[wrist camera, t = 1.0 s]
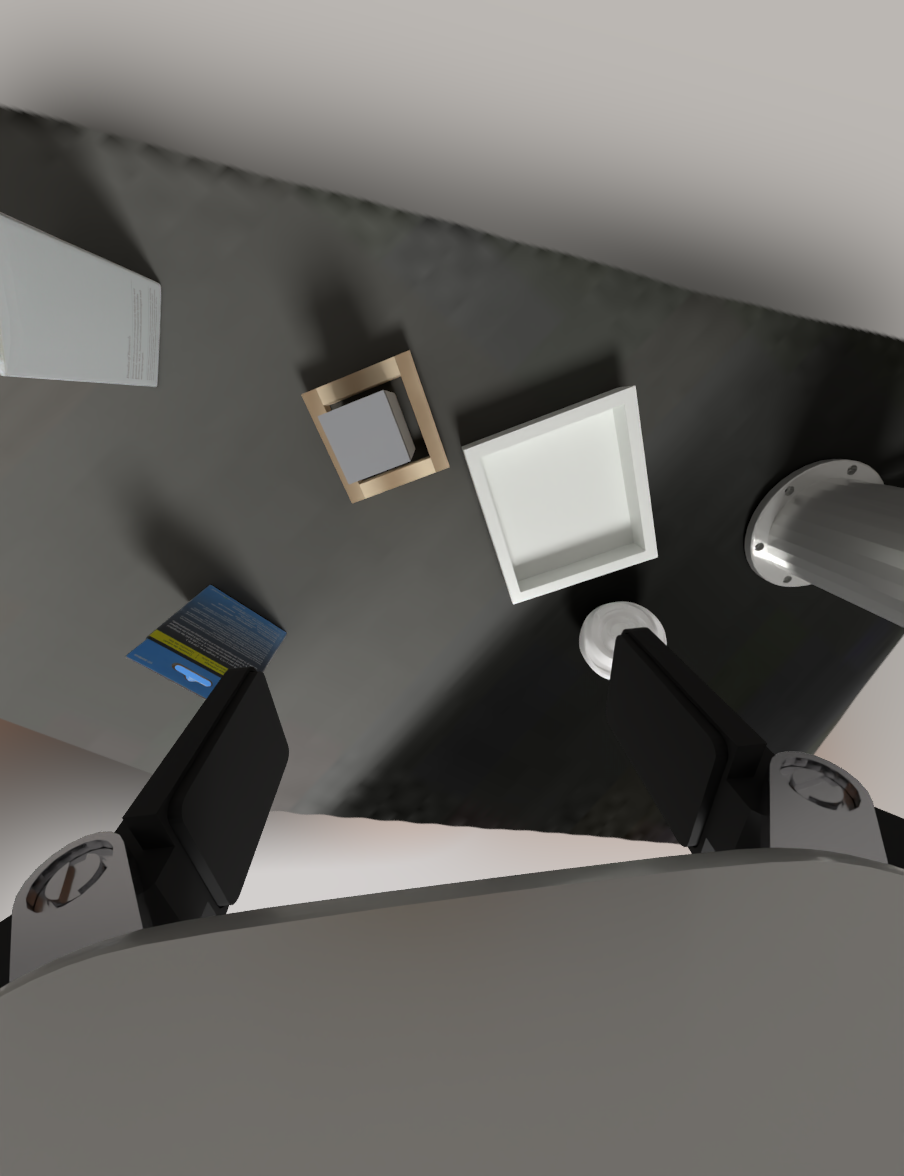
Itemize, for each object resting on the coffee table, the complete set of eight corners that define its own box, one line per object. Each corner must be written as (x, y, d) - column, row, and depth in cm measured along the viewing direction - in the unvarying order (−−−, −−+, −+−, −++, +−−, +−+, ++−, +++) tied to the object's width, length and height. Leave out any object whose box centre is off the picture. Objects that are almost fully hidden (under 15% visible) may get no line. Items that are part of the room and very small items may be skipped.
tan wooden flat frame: (410, 353, 31) (409, 350, 29) (448, 463, 35) (449, 467, 33) (308, 395, 32) (301, 394, 30) (356, 498, 36) (352, 503, 34)
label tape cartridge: (192, 608, 40) (99, 688, 29) (211, 582, 39) (121, 654, 28) (270, 655, 43) (212, 744, 32) (289, 632, 42) (237, 715, 30)
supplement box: (165, 283, 29) (-13, 203, 17) (159, 389, 32) (4, 382, 20) (51, 237, 27) (-223, 118, 16) (56, 352, 30) (-173, 322, 19)
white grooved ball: (634, 580, 41) (676, 616, 34) (648, 636, 44) (689, 680, 37) (560, 608, 42) (586, 649, 35) (579, 661, 45) (606, 709, 38)
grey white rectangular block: (395, 393, 32) (383, 389, 24) (415, 447, 34) (410, 461, 26) (346, 413, 33) (317, 416, 25) (368, 465, 35) (348, 484, 27)
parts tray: (618, 387, 33) (635, 385, 30) (642, 546, 39) (657, 557, 36) (461, 446, 34) (463, 450, 32) (507, 591, 41) (513, 604, 38)
